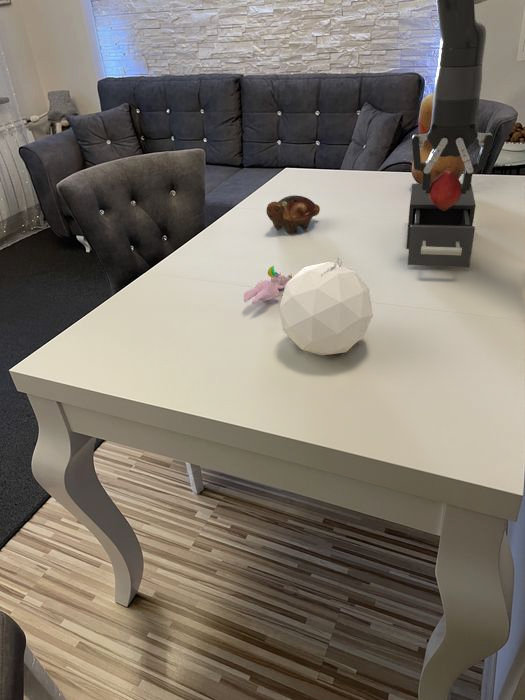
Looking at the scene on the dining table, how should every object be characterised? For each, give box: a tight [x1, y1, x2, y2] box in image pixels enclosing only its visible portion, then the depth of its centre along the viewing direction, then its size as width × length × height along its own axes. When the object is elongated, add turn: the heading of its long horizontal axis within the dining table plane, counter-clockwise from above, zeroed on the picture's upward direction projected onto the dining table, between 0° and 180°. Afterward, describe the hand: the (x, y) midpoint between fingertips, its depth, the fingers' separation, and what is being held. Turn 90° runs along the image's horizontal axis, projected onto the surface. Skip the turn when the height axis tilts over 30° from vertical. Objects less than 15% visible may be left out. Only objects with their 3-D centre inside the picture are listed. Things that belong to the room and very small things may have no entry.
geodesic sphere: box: [278, 256, 374, 356], centre depth 81 cm, size 15×14×14 cm
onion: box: [429, 168, 462, 211], centre depth 100 cm, size 6×6×8 cm
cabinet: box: [405, 183, 476, 250], centre depth 116 cm, size 15×13×10 cm
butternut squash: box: [411, 92, 465, 184], centre depth 139 cm, size 14×13×25 cm
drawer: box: [407, 208, 476, 268], centre depth 105 cm, size 18×11×8 cm, turn 165°
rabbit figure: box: [243, 265, 293, 304], centre depth 98 cm, size 6×6×15 cm
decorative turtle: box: [265, 194, 321, 235], centre depth 127 cm, size 10×15×8 cm, turn 132°
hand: (445, 192), depth 100 cm, fingers closed on onion, 6 cm apart
